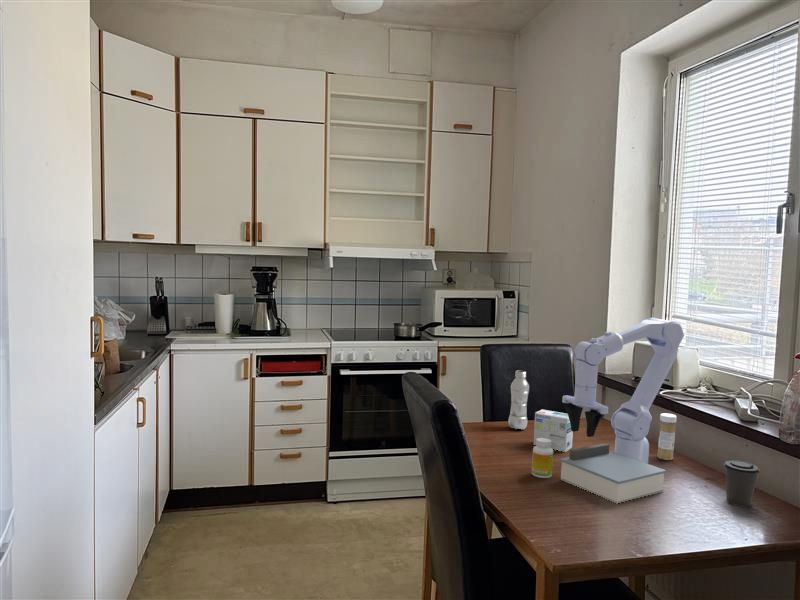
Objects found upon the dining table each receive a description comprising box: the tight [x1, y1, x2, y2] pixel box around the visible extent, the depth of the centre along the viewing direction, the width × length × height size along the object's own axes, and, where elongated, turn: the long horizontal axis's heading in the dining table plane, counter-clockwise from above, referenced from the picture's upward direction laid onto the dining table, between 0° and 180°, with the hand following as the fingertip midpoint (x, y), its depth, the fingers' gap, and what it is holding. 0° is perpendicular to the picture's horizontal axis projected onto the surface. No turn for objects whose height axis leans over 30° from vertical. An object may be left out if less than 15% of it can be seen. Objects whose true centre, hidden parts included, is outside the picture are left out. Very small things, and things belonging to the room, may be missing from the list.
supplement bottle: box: [531, 438, 554, 479], centre depth 167 cm, size 5×5×10 cm
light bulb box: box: [532, 408, 574, 453], centre depth 193 cm, size 11×7×11 cm, turn 58°
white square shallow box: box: [560, 461, 665, 505], centre depth 161 cm, size 18×18×5 cm
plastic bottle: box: [508, 370, 530, 430], centre depth 211 cm, size 6×7×20 cm
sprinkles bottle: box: [657, 412, 678, 461], centre depth 186 cm, size 5×5×13 cm
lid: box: [559, 442, 667, 484], centre depth 161 cm, size 19×19×3 cm
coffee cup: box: [723, 459, 761, 507], centre depth 154 cm, size 8×8×10 cm
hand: (582, 433), depth 171 cm, fingers open, 5 cm apart
